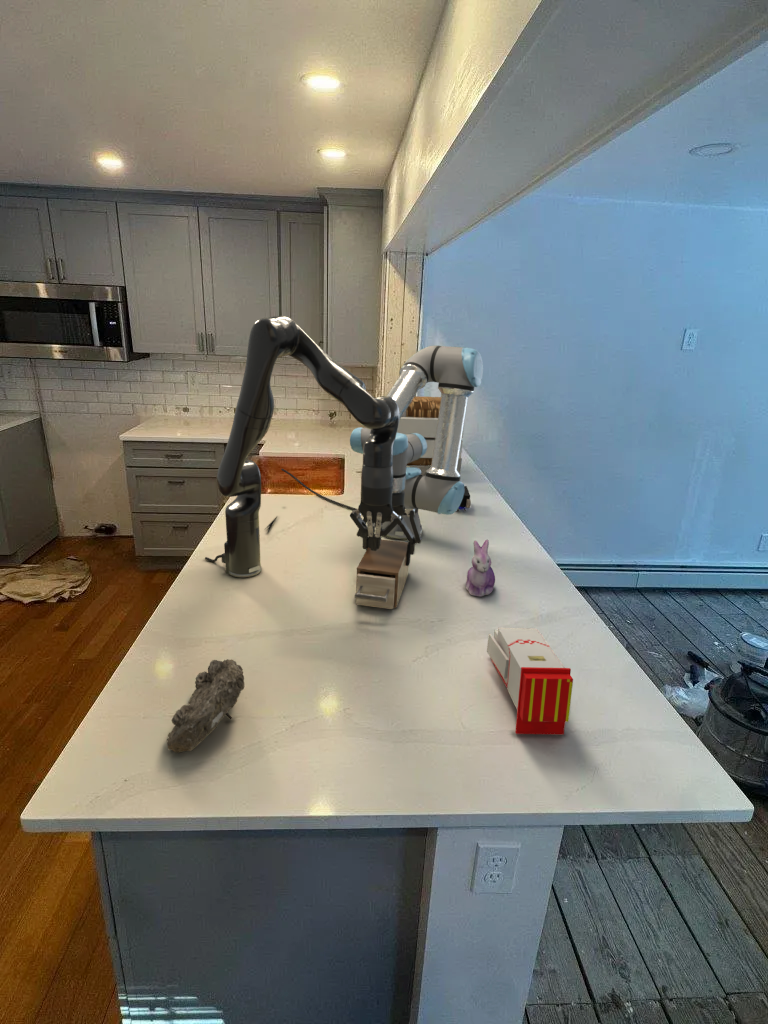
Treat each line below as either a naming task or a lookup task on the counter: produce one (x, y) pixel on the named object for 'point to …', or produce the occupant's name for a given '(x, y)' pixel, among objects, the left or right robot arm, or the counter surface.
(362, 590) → the drawer
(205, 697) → the fossil
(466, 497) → the figurine character
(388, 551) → the cabinet
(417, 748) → the counter surface
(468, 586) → the figurine
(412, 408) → the white boxy container
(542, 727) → the toy
